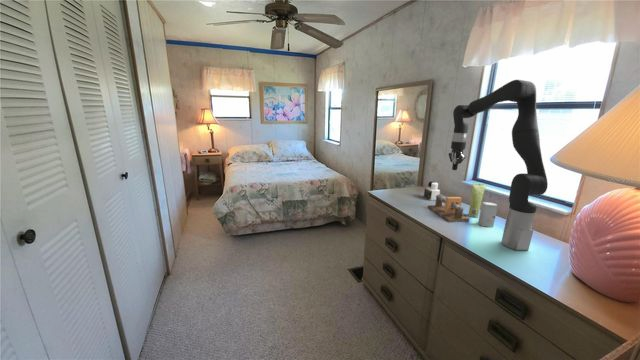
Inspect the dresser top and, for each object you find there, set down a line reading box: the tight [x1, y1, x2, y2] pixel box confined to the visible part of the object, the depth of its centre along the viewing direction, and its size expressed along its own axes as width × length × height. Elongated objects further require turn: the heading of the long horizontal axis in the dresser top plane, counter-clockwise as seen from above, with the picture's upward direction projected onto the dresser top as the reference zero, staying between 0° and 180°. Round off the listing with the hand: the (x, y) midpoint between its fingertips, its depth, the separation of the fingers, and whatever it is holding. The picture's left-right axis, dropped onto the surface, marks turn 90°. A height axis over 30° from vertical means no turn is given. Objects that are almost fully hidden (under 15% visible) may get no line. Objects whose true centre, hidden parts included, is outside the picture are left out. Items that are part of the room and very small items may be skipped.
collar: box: [444, 196, 463, 213], centre depth 146 cm, size 2×8×8 cm, turn 97°
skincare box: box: [477, 201, 498, 228], centre depth 137 cm, size 6×4×12 cm
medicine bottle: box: [423, 181, 441, 201], centre depth 178 cm, size 7×7×12 cm
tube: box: [467, 183, 487, 218], centre depth 148 cm, size 6×5×20 cm
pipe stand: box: [427, 194, 470, 223], centre depth 151 cm, size 22×12×9 cm, turn 7°
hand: (454, 169), depth 154 cm, fingers closed
